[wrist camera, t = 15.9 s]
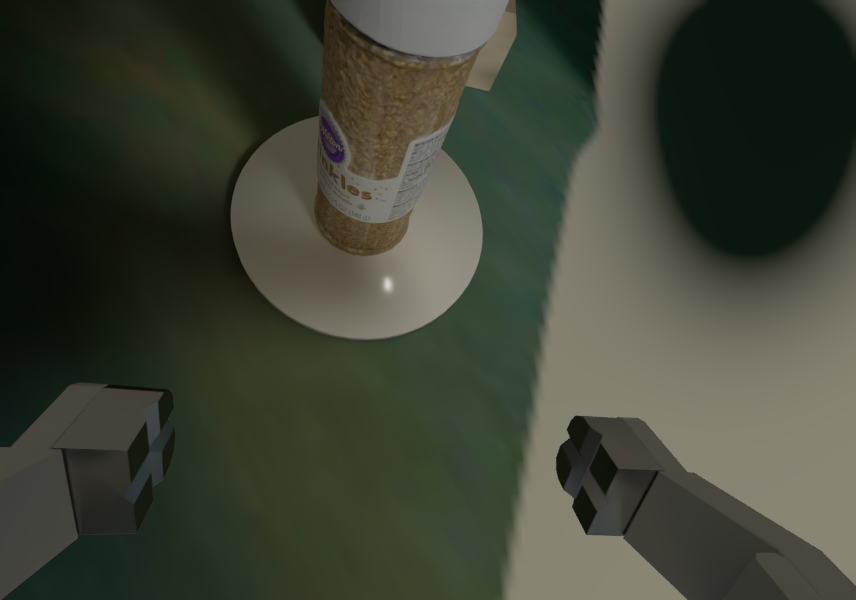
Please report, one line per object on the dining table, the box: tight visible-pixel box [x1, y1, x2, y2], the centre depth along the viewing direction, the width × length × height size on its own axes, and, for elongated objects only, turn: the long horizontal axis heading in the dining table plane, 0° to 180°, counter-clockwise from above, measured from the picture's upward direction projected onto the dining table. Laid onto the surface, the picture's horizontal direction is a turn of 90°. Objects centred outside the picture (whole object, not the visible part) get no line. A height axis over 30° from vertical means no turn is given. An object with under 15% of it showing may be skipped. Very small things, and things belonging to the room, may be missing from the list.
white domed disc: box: [231, 116, 483, 341], centre depth 22 cm, size 12×12×1 cm
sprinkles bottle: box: [314, 0, 509, 256], centre depth 15 cm, size 5×5×13 cm
